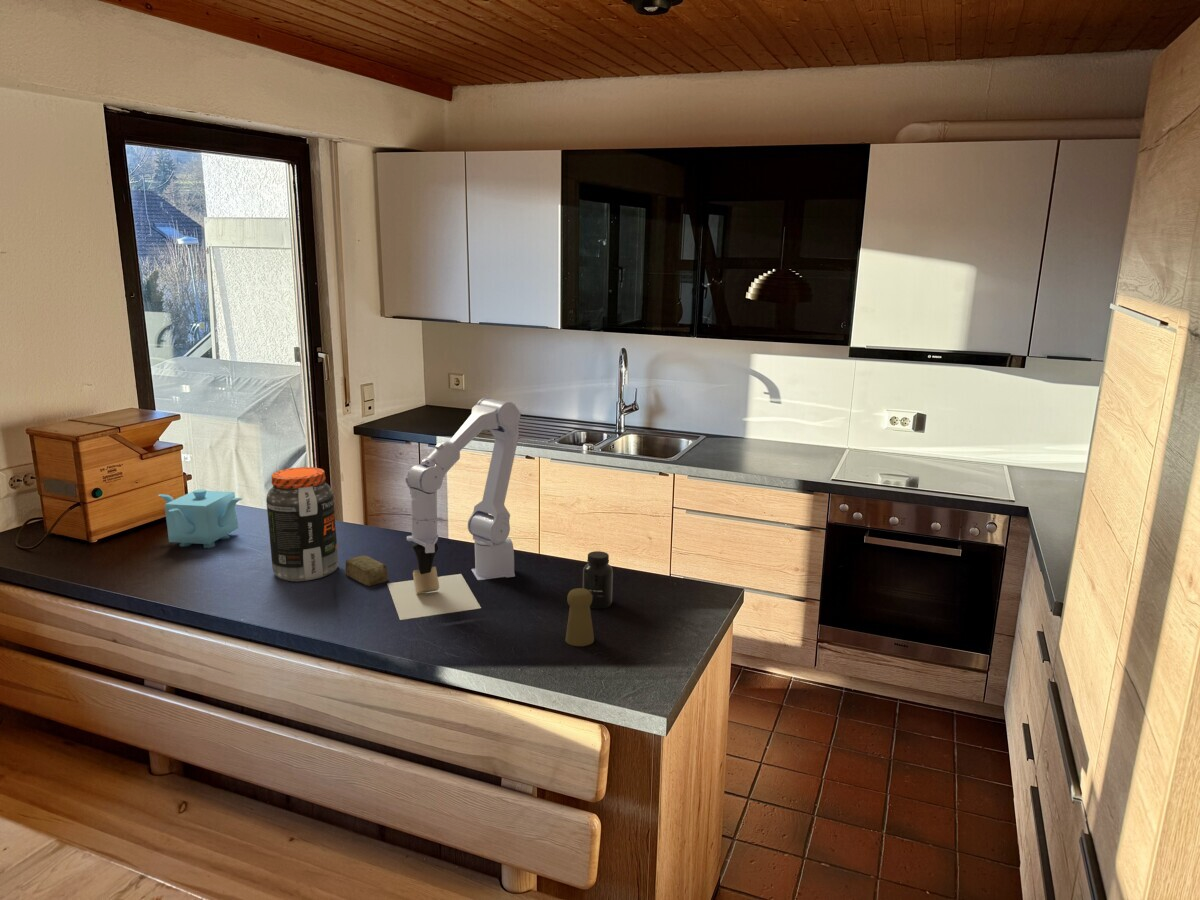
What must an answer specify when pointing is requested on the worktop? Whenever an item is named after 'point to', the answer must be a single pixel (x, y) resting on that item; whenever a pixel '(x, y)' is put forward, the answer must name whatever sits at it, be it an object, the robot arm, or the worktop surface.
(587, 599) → the wooden peg doll
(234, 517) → the teakettle
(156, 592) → the worktop surface
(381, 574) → the stone block
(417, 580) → the cube
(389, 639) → the worktop surface
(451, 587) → the mat
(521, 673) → the worktop surface
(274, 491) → the supplement tub
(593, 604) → the supplement bottle
